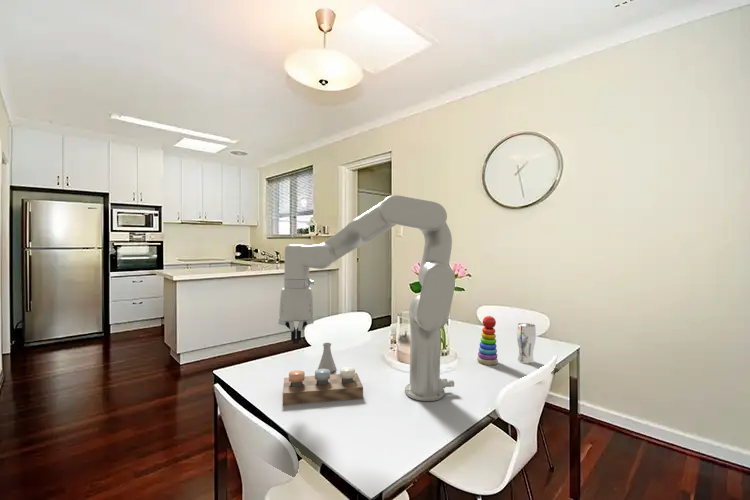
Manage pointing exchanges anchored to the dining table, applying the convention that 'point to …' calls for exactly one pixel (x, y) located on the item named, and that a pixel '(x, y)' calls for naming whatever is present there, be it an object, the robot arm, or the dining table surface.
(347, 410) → the dining table surface
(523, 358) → the beer glass
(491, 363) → the stacking toy
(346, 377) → the ivory button
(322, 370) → the slate button
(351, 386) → the button panel
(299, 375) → the terracotta button
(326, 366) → the flask
